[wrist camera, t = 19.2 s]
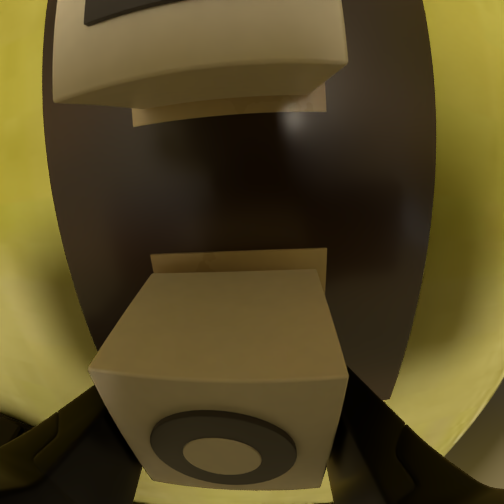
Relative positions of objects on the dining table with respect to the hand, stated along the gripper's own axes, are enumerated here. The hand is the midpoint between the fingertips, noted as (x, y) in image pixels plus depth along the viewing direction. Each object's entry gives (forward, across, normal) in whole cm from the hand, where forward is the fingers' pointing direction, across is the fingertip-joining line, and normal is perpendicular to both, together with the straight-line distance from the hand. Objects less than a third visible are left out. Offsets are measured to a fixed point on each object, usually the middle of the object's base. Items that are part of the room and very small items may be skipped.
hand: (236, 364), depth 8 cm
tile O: (+1, 0, 0) cm, 1 cm away
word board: (+3, 0, -4) cm, 5 cm away
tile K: (+2, 0, -9) cm, 9 cm away
